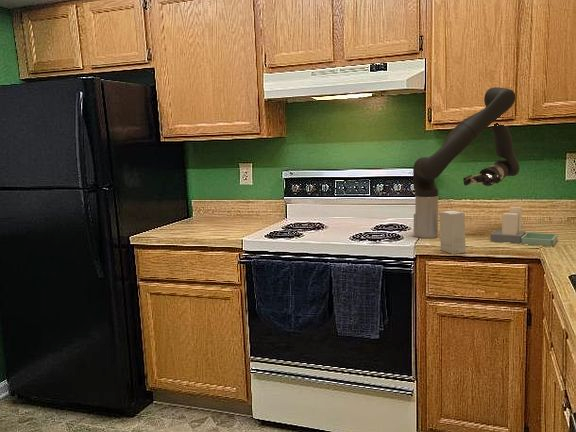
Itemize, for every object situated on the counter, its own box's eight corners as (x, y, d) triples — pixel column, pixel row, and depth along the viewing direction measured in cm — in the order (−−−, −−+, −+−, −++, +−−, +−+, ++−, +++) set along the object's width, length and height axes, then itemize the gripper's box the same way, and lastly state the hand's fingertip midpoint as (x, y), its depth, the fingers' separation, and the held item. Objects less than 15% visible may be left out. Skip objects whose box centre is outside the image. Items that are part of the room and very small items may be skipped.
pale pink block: (501, 234, 205) (502, 214, 204) (504, 232, 208) (504, 212, 207) (515, 235, 202) (516, 214, 201) (517, 233, 206) (518, 213, 205)
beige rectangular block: (508, 232, 208) (509, 207, 207) (510, 230, 211) (511, 206, 210) (519, 233, 206) (520, 208, 204) (521, 231, 209) (522, 206, 208)
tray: (520, 244, 200) (520, 238, 199) (526, 238, 210) (527, 232, 210) (552, 247, 194) (552, 240, 193) (557, 240, 204) (557, 234, 204)
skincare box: (465, 253, 189) (466, 212, 186) (450, 254, 187) (451, 213, 185) (453, 248, 197) (453, 209, 195) (438, 249, 195) (439, 210, 193)
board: (490, 241, 207) (490, 234, 206) (496, 236, 216) (496, 229, 215) (520, 243, 201) (520, 236, 200) (525, 238, 210) (525, 231, 209)
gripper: (474, 167, 223) (457, 174, 212) (508, 165, 214) (492, 173, 202) (475, 184, 225) (459, 192, 213) (509, 183, 215) (493, 192, 204)
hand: (475, 182), depth 208 cm, fingers open, 8 cm apart
